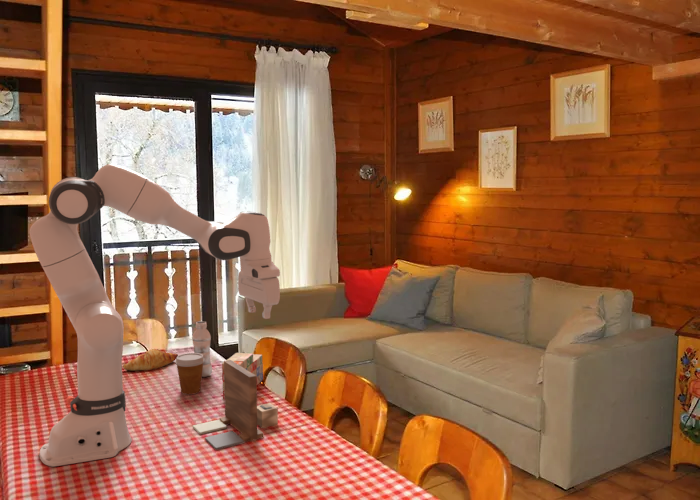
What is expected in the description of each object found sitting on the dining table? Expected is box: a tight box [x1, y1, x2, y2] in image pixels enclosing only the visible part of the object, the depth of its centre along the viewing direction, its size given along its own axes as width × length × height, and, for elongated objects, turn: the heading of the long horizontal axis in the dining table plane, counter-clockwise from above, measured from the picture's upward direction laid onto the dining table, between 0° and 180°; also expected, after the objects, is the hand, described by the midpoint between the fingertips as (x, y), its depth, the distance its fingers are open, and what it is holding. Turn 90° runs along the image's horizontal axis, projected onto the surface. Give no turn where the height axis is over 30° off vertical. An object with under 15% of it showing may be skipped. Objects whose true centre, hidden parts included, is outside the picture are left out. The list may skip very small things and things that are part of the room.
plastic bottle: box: [191, 320, 213, 378], centre depth 223 cm, size 6×7×20 cm
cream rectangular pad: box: [192, 419, 228, 435], centre depth 178 cm, size 8×6×1 cm
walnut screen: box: [219, 359, 264, 443], centre depth 176 cm, size 6×18×18 cm, turn 34°
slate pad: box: [204, 430, 245, 451], centre depth 169 cm, size 8×8×1 cm
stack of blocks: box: [221, 352, 264, 400], centre depth 210 cm, size 21×6×12 cm, turn 168°
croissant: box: [122, 348, 179, 371], centre depth 236 cm, size 21×10×8 cm
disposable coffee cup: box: [174, 352, 204, 395], centre depth 208 cm, size 10×10×12 cm
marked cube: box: [257, 402, 279, 429], centre depth 181 cm, size 5×5×5 cm
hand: (259, 315), depth 178 cm, fingers open, 8 cm apart
